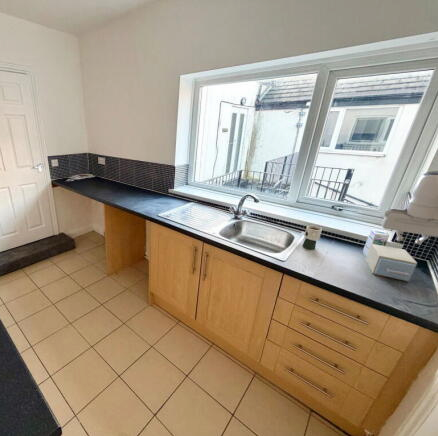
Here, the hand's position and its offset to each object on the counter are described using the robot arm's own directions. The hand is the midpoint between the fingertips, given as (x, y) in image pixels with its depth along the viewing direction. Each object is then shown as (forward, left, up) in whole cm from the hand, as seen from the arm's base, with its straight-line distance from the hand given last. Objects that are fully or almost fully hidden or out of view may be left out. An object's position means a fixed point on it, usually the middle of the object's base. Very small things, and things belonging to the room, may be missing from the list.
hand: (408, 242), depth 103 cm
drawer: (0, -6, -18) cm, 19 cm away
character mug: (+32, -17, -19) cm, 41 cm away
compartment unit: (0, -10, -19) cm, 21 cm away
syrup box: (+3, -24, -19) cm, 31 cm away
